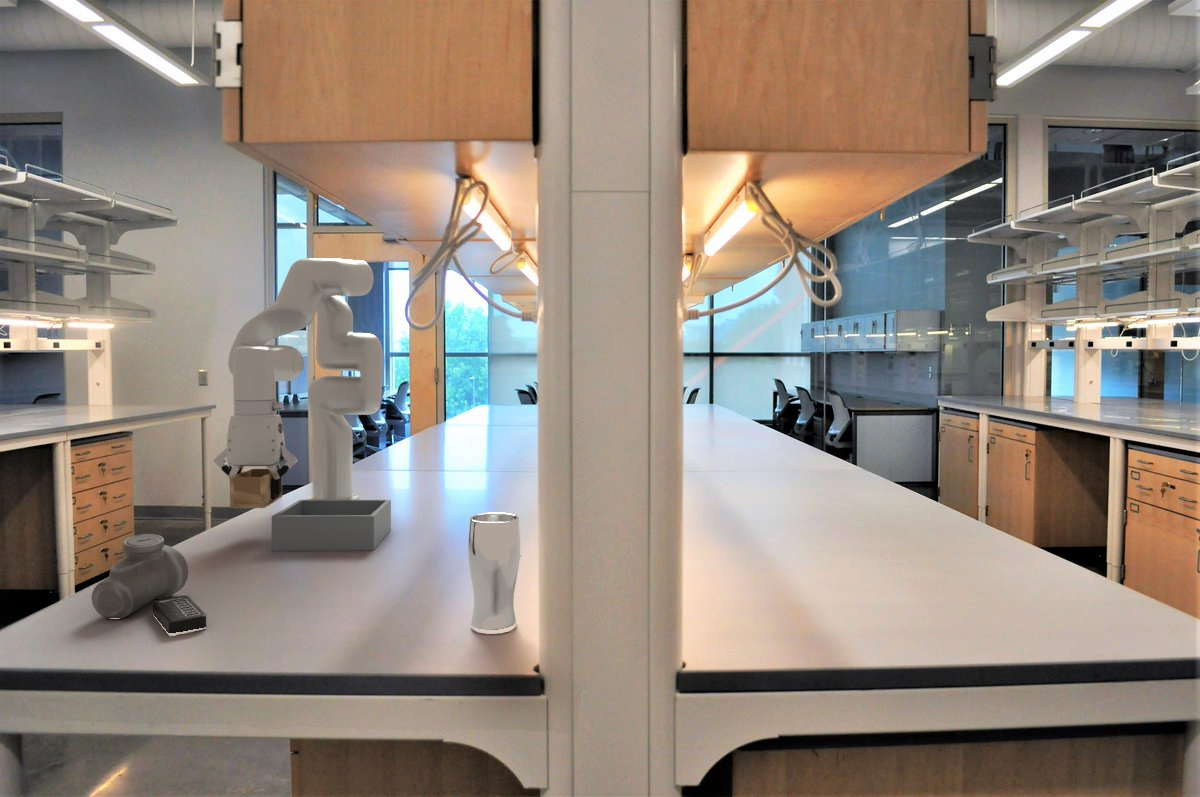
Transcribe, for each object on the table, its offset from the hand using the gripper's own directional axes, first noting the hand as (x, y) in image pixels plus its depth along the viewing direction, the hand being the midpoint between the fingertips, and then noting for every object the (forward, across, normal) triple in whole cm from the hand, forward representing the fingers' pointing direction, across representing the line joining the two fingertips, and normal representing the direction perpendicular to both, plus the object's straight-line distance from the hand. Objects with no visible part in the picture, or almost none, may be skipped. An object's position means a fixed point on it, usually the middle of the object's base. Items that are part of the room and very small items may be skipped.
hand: (256, 497), depth 148 cm
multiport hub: (+7, -7, +49) cm, 50 cm away
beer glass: (+7, -50, +53) cm, 73 cm away
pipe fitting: (+7, +1, +43) cm, 44 cm away
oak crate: (+1, 0, 0) cm, 1 cm away
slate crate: (+8, -16, +3) cm, 18 cm away
